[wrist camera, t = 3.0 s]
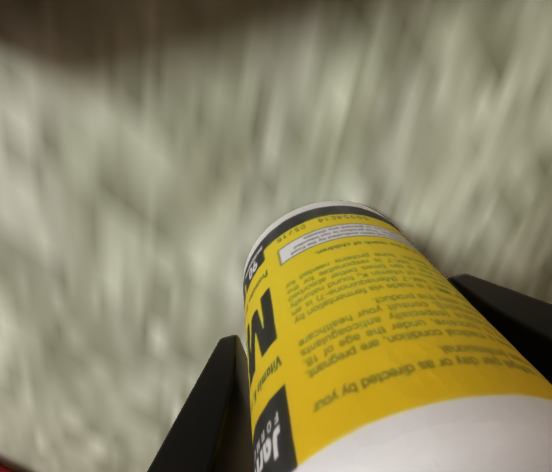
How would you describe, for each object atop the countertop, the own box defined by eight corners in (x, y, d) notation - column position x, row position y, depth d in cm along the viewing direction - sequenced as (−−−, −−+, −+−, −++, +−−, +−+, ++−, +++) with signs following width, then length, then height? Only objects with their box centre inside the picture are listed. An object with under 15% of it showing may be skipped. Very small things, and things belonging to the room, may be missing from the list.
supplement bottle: (223, 217, 9) (181, 1163, 1) (399, 178, 9) (1365, 830, 1) (260, 347, 11) (325, 954, 3) (400, 316, 11) (753, 839, 4)
